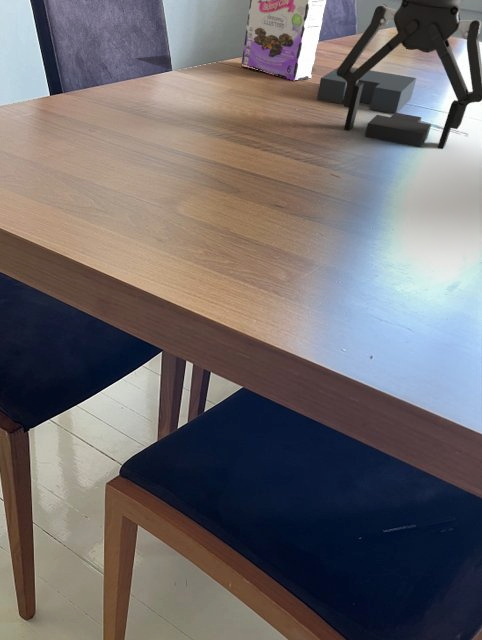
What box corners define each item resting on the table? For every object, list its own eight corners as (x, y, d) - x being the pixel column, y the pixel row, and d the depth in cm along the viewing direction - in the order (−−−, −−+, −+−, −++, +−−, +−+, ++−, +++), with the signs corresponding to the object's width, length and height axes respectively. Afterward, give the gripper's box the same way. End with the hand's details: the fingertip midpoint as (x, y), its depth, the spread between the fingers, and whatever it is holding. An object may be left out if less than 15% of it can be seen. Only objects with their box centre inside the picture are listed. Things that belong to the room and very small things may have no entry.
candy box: (239, 67, 146) (252, -31, 136) (258, 64, 150) (272, -31, 140) (293, 82, 139) (312, -21, 129) (312, 79, 142) (331, -21, 132)
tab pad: (428, 144, 111) (435, 119, 109) (416, 159, 104) (424, 133, 102) (375, 134, 113) (381, 109, 111) (361, 148, 106) (367, 123, 104)
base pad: (410, 98, 135) (416, 77, 132) (395, 114, 124) (401, 91, 122) (336, 85, 139) (341, 65, 137) (316, 99, 129) (320, 77, 127)
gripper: (339, -43, 95) (303, 129, 108) (542, -15, 87) (477, 166, 100) (353, -45, 100) (317, 119, 113) (545, -20, 92) (483, 153, 106)
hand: (392, 141), depth 107 cm, fingers open, 13 cm apart
